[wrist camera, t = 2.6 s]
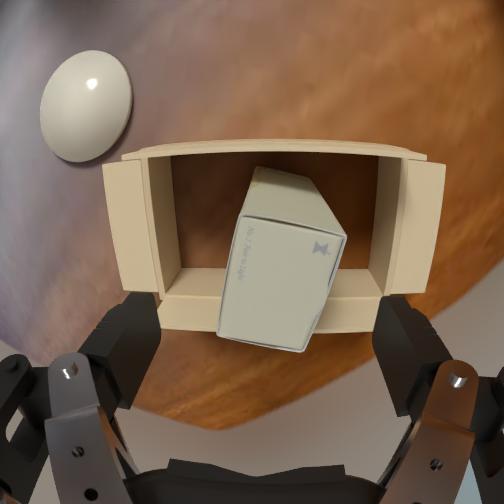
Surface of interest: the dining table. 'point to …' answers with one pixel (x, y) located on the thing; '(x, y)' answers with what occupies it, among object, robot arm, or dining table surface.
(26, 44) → the dining table surface
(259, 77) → the dining table surface
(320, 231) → the skincare box
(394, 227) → the carton
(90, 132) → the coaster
